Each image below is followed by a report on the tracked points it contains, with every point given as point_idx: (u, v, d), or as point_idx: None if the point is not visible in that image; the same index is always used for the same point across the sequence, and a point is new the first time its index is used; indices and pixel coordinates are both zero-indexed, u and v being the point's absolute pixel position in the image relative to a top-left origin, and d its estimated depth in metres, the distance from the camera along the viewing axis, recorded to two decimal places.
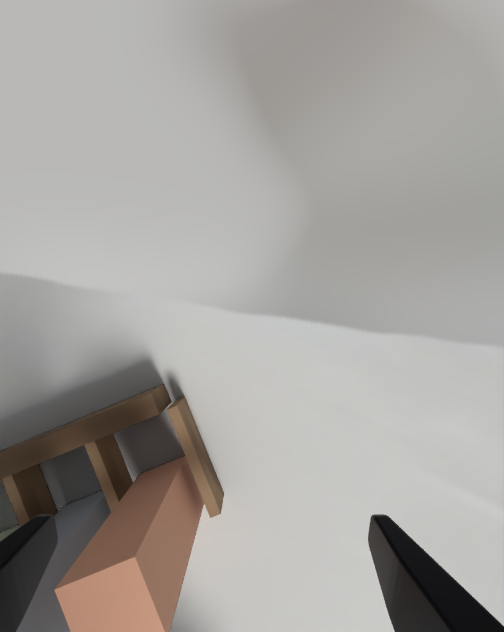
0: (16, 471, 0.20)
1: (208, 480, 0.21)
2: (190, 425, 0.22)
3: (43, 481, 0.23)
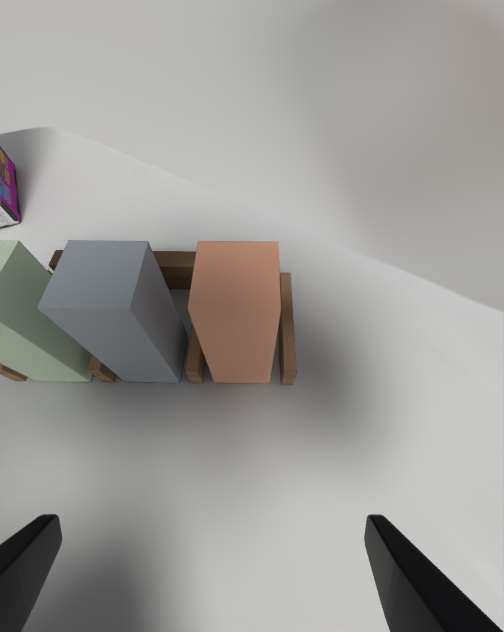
0: None
1: (294, 341, 0.20)
2: None
3: None
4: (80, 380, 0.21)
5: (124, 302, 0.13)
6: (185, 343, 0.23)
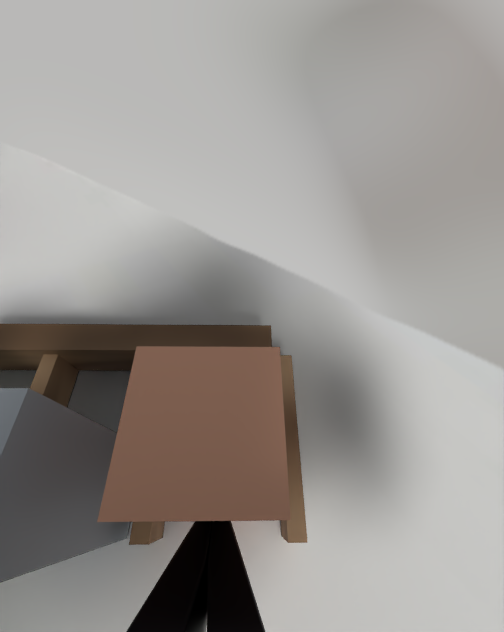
0: (71, 348, 0.16)
1: (300, 475, 0.14)
2: None
3: (67, 401, 0.17)
4: None
5: None
6: None
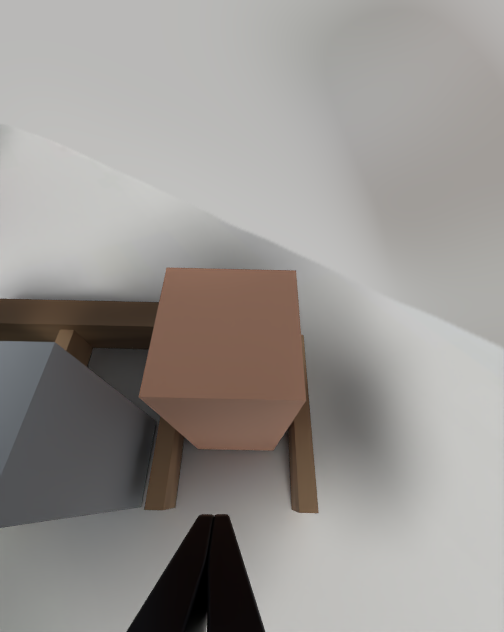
0: (87, 323, 0.16)
1: (311, 450, 0.14)
2: None
3: None
4: None
5: None
6: (152, 438, 0.16)
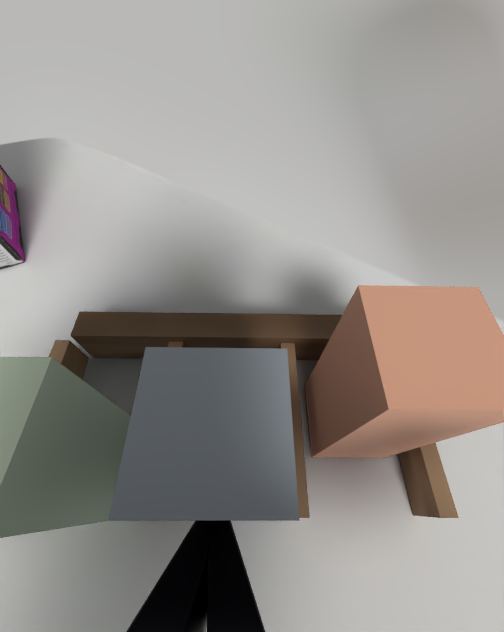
0: (198, 335, 0.16)
1: (436, 456, 0.14)
2: None
3: None
4: None
5: (284, 502, 0.06)
6: None
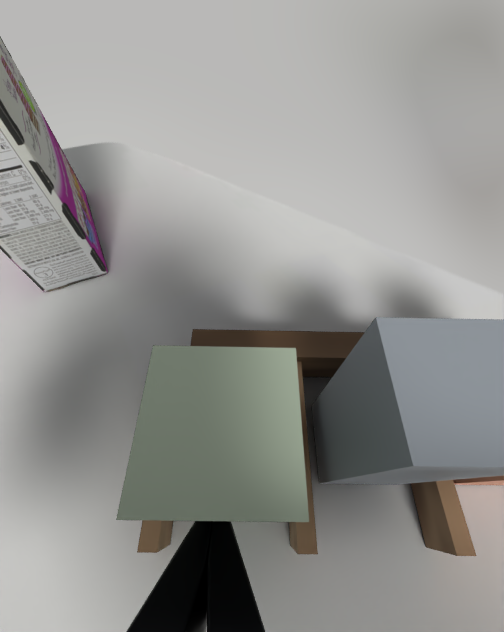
0: (321, 355, 0.16)
1: None
2: None
3: None
4: None
5: None
6: None
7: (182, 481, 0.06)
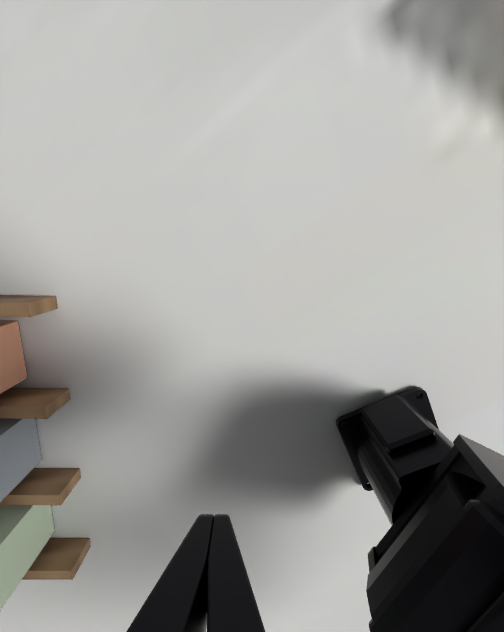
0: None
1: None
2: None
3: None
4: None
5: None
6: None
7: None
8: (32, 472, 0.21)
